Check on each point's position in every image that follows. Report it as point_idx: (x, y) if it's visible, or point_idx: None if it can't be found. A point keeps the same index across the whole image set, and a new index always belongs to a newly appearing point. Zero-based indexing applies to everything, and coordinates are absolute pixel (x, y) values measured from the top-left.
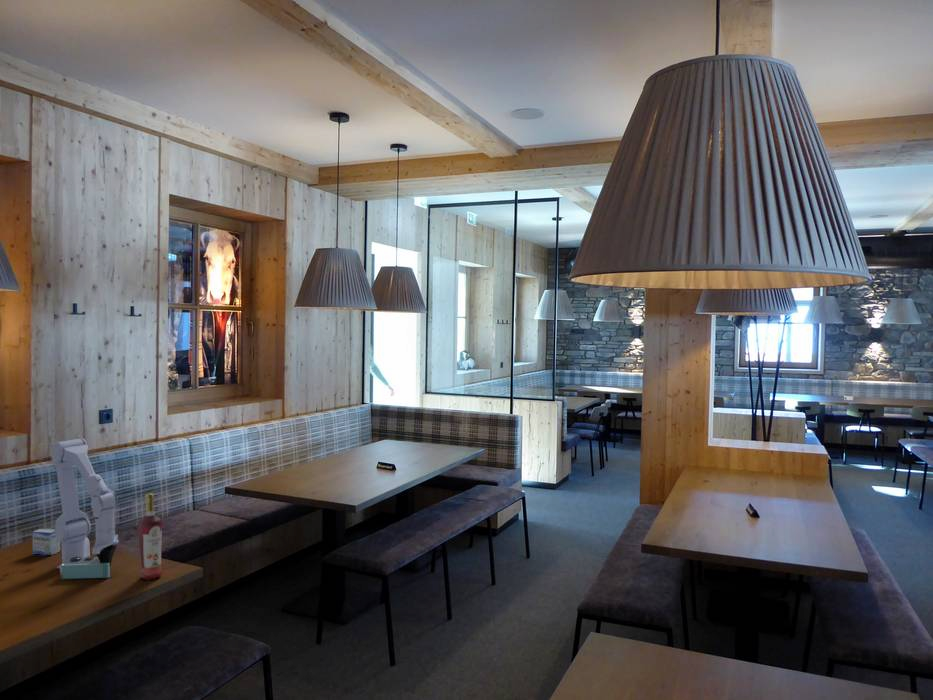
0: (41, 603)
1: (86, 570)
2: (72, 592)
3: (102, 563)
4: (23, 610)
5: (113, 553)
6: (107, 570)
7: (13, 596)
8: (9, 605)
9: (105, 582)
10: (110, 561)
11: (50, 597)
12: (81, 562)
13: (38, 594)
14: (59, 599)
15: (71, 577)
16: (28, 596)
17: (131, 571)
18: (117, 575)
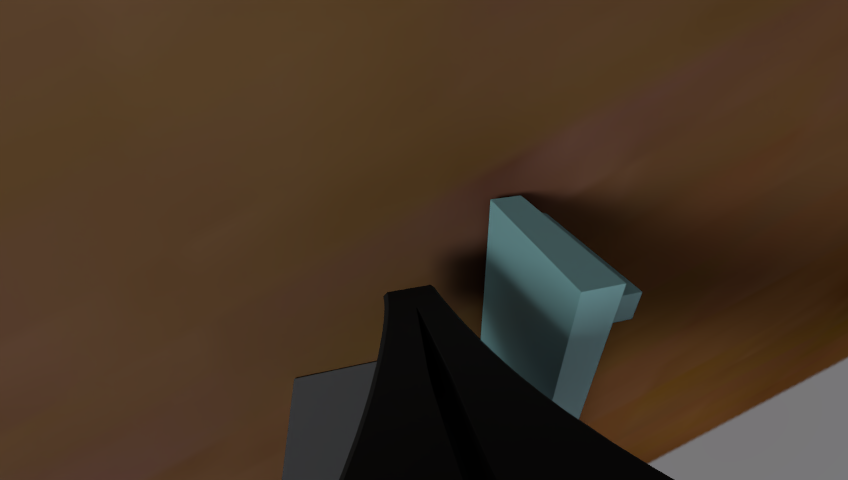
0: (795, 329)
1: None
2: (722, 282)
3: (573, 363)
4: (830, 343)
5: (356, 461)
6: (563, 240)
7: (643, 457)
8: (737, 413)
9: (618, 162)
10: (420, 340)
11: (736, 340)
12: None
13: (664, 404)
14: (796, 285)
15: None
16: (670, 420)
17: (284, 5)
18: (440, 141)
